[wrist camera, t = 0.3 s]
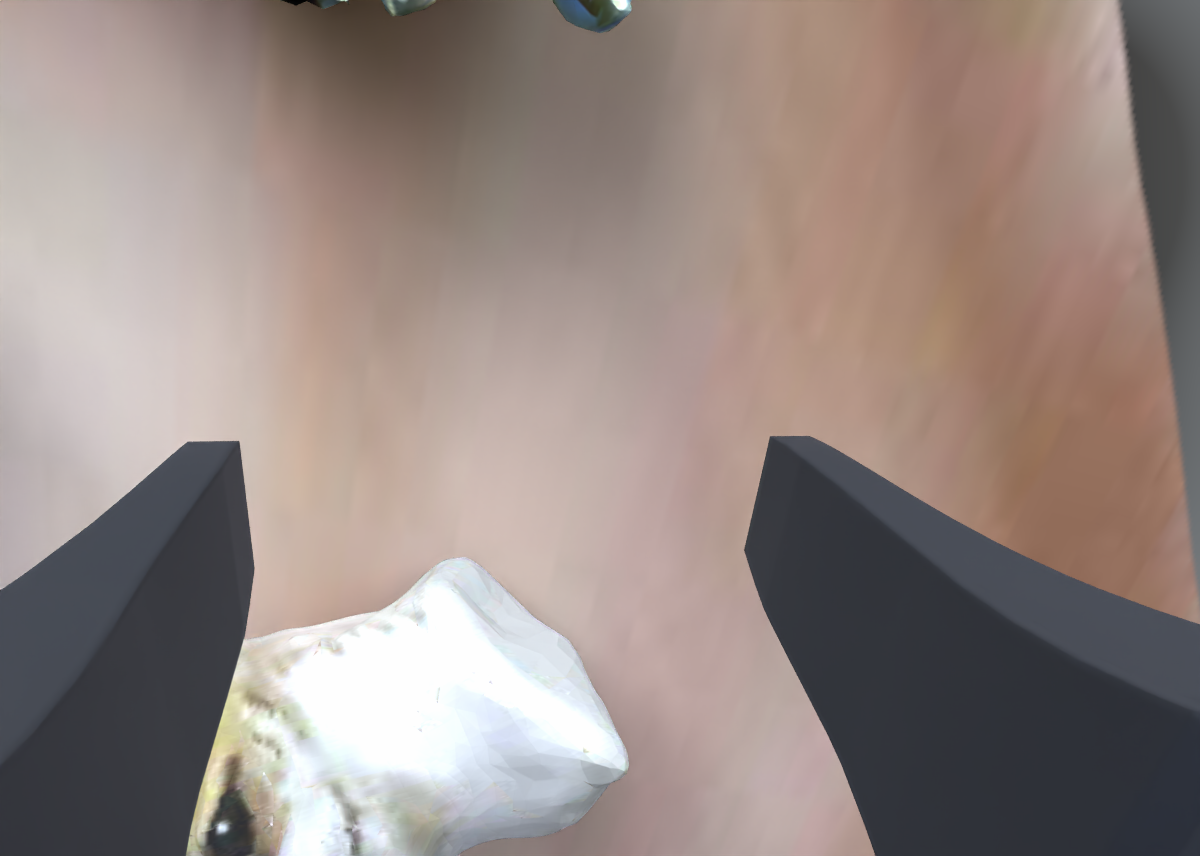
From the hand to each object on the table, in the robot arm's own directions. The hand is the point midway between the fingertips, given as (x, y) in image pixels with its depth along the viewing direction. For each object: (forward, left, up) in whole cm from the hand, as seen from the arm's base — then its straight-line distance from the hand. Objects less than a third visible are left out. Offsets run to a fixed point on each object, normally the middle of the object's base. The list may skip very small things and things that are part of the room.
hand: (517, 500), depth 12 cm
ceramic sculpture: (-11, -4, -11) cm, 15 cm away
